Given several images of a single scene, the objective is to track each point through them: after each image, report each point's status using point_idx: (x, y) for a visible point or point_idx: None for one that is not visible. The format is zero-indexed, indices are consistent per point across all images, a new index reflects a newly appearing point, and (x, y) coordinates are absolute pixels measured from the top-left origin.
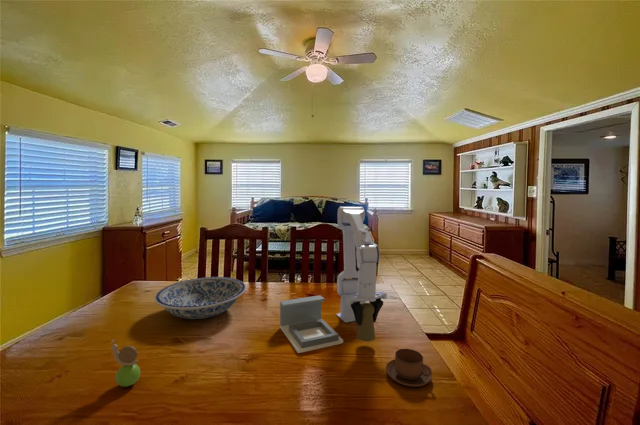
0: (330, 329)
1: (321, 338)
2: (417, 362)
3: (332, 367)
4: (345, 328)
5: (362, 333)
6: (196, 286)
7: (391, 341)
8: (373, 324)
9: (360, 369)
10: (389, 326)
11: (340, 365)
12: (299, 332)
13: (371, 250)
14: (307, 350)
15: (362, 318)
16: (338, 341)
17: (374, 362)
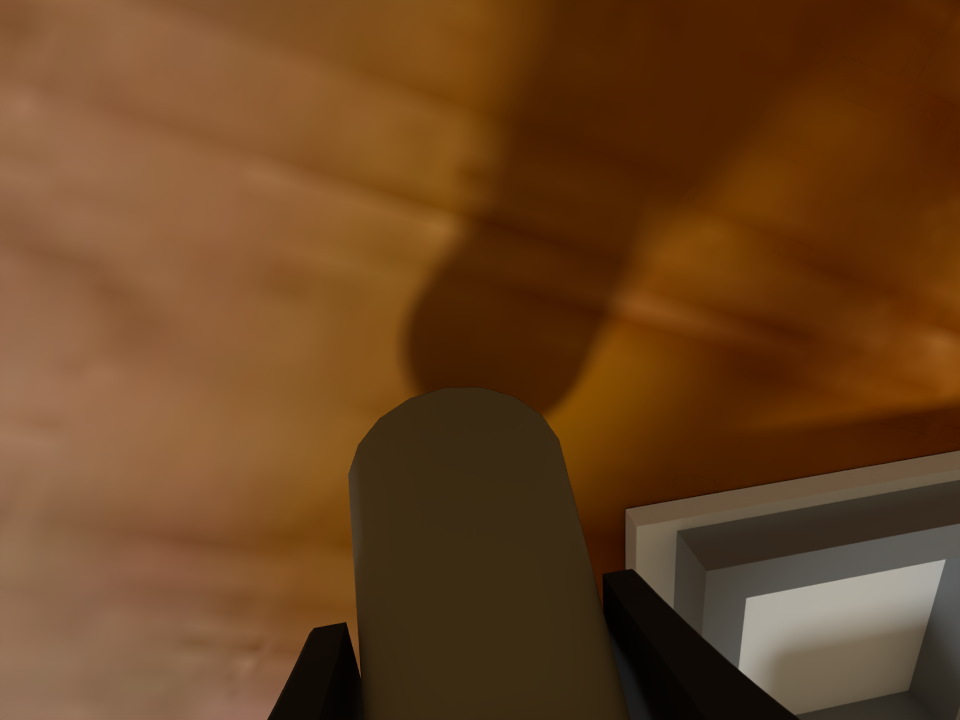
0: None
1: (884, 534)
2: None
3: (921, 164)
4: None
5: (558, 471)
6: None
7: (136, 452)
8: (379, 571)
9: (717, 35)
10: (44, 706)
11: (843, 173)
12: (883, 677)
13: None
14: (946, 456)
15: (616, 676)
16: (685, 516)
17: (513, 114)
